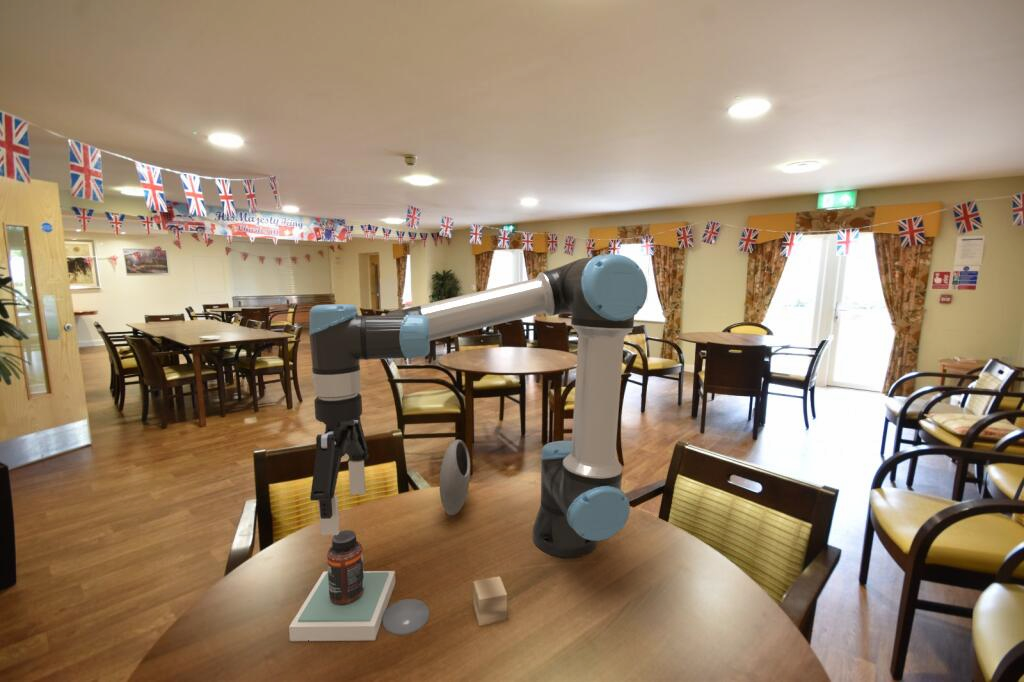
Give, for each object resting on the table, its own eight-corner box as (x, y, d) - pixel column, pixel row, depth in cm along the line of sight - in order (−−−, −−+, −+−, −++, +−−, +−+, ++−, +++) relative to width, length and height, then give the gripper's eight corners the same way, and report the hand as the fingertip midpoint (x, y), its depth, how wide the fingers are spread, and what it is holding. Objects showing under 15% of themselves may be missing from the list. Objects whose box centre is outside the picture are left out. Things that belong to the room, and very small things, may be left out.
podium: (395, 583, 86) (395, 569, 85) (374, 640, 72) (374, 623, 72) (324, 583, 85) (323, 569, 85) (289, 641, 72) (288, 624, 71)
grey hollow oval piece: (462, 530, 104) (461, 456, 102) (433, 529, 105) (432, 455, 103) (474, 494, 123) (474, 430, 120) (450, 493, 123) (449, 429, 121)
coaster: (430, 601, 81) (430, 597, 81) (426, 635, 73) (426, 630, 73) (387, 603, 81) (387, 599, 80) (378, 637, 73) (378, 633, 73)
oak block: (499, 600, 81) (499, 576, 81) (506, 620, 77) (507, 594, 76) (473, 605, 80) (473, 581, 79) (479, 626, 75) (479, 599, 75)
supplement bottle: (370, 585, 81) (368, 528, 79) (352, 608, 75) (350, 547, 73) (341, 581, 82) (339, 525, 80) (322, 603, 76) (318, 543, 75)
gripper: (342, 379, 86) (348, 480, 89) (278, 417, 61) (289, 556, 64) (380, 379, 86) (385, 479, 89) (331, 416, 61) (340, 555, 64)
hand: (345, 512), depth 76 cm, fingers open, 13 cm apart
